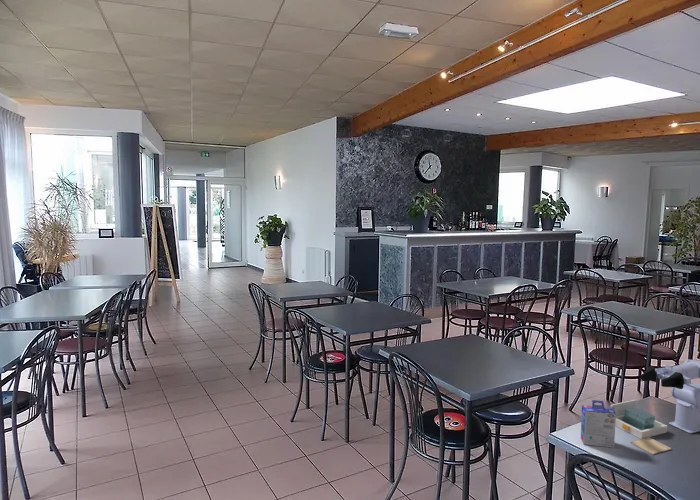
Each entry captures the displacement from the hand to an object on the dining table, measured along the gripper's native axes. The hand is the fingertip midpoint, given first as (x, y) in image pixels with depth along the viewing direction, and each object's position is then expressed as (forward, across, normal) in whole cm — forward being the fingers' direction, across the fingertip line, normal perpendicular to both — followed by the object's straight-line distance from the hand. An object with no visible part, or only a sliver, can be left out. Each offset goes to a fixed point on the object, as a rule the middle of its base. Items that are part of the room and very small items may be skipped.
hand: (651, 380), depth 164 cm
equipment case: (-1, -8, +20) cm, 21 cm away
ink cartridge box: (+22, -5, +19) cm, 29 cm away
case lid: (-1, -14, +19) cm, 24 cm away
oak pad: (+6, +3, +21) cm, 22 cm away
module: (-1, -8, +20) cm, 22 cm away
